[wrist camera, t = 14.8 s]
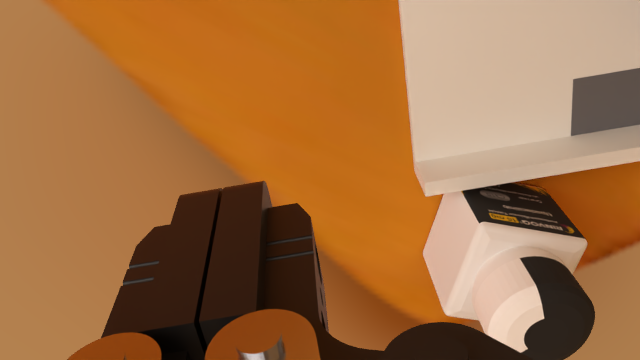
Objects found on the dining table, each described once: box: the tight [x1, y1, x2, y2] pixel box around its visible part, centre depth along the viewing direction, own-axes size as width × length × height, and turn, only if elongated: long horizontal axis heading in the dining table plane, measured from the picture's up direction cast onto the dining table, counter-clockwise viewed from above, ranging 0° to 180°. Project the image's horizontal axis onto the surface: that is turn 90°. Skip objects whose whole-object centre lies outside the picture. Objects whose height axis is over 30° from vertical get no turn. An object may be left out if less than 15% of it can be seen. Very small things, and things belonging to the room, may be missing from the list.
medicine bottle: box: [423, 182, 595, 360], centre depth 38 cm, size 7×7×12 cm
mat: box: [571, 68, 640, 136], centre depth 39 cm, size 4×6×1 cm, turn 99°
